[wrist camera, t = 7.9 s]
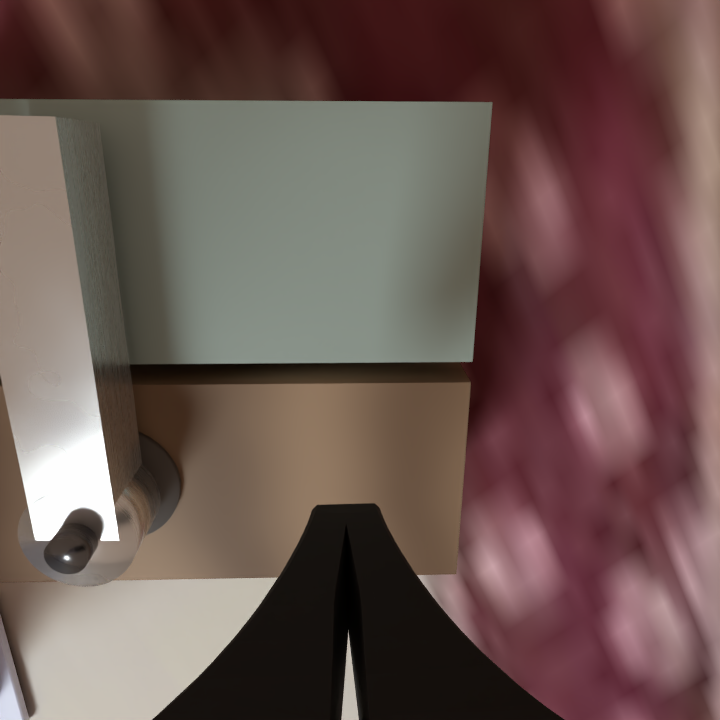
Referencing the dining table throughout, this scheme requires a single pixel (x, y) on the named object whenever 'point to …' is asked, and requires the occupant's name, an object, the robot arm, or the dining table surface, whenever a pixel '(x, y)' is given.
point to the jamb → (280, 463)
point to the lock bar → (68, 355)
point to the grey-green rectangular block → (292, 226)
